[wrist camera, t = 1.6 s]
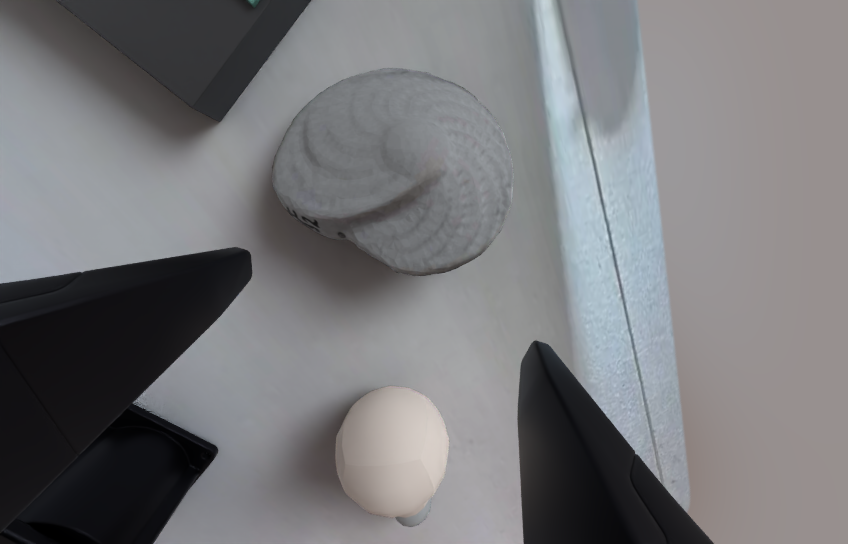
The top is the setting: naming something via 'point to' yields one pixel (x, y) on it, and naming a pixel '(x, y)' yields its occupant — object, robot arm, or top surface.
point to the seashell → (398, 170)
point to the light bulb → (392, 453)
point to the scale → (194, 41)
